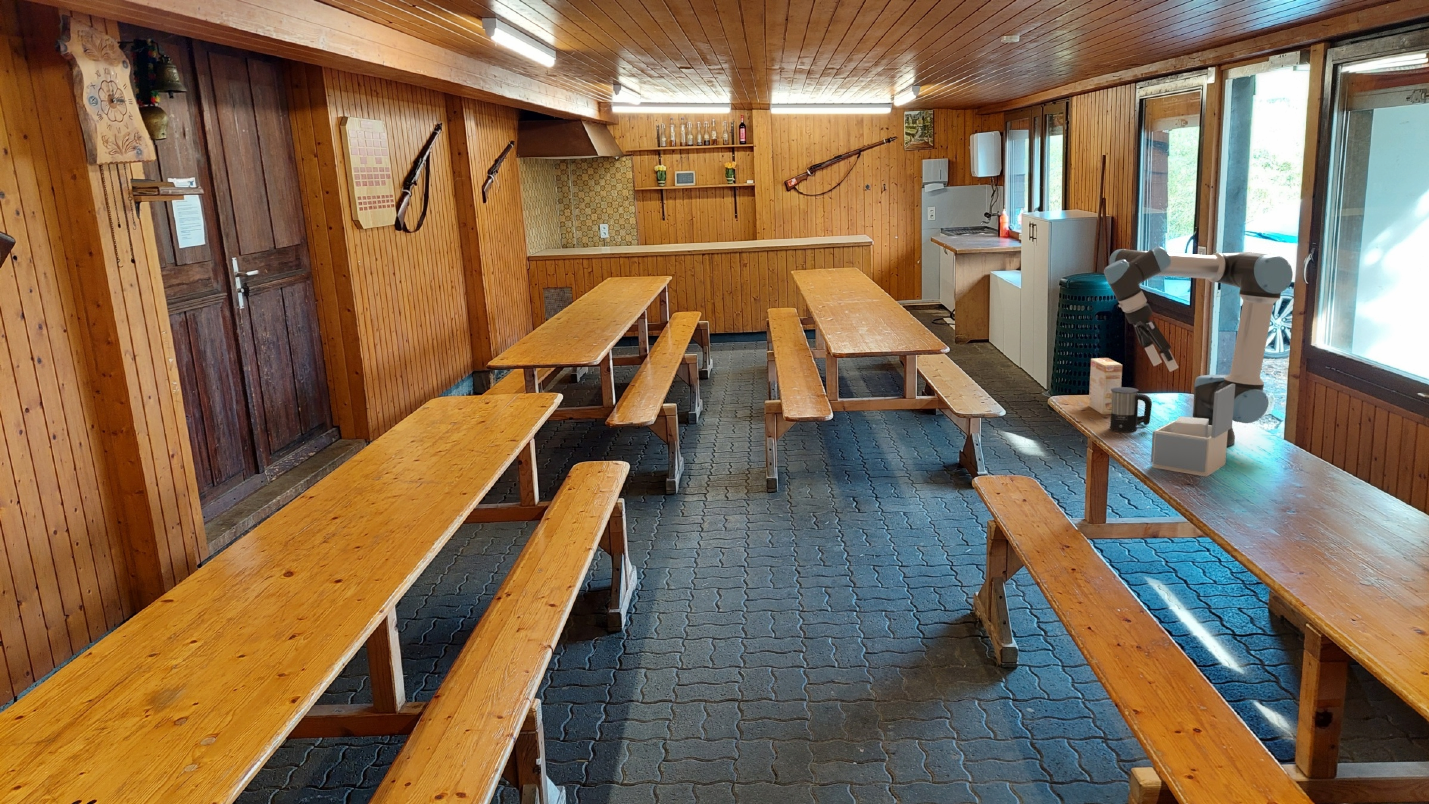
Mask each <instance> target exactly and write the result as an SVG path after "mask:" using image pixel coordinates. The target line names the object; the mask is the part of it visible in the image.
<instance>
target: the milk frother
mask: <svg viewBox="0 0 1429 804" xmlns="http://www.w3.org/2000/svg"><path fill="white" fill-rule="evenodd" d="M1111 391H1112V401H1111V414H1110V425H1109V430H1111V431H1113V432H1114V431H1115V432H1119V433H1120V432H1121V433H1129V432H1130V433H1131V432H1135V431H1137V429H1138V428H1137V426H1138V425H1140V424H1142V423H1143V425H1144V426H1148V425H1149V424H1150V422H1151V415H1152V414H1151V413H1152V406H1153V402H1152V399H1151V397H1150V396H1149V395H1146V394H1144V393H1138V392H1139V389H1138V388H1134V387H1129V386H1128V387H1127V386H1126V387H1124V386H1121V387H1118V388H1112V389H1111ZM1139 401H1142V402H1143V403H1144V410H1143V412H1144V413H1143V415H1138V414H1139Z"/></svg>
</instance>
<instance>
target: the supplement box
mask: <svg viewBox="0 0 1429 804" xmlns="http://www.w3.org/2000/svg"><path fill="white" fill-rule="evenodd" d="M1192 417H1193V416H1192ZM1192 417H1191V416H1190V417H1189V416H1178V418H1177V419H1176V420H1175V421H1176V422H1175V432H1174V433H1177V434H1184V435H1191V436H1198V437H1205V438H1207V436H1208V423H1209V419H1205V418H1192Z"/></svg>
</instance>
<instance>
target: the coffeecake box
mask: <svg viewBox="0 0 1429 804" xmlns="http://www.w3.org/2000/svg"><path fill="white" fill-rule="evenodd" d="M1089 372H1090V373H1089V393H1088V397H1089V398H1088V407H1089V408H1092V409H1093V410H1095V411H1096V412H1098V413H1100V414H1101V415H1111V401H1112V391H1111V389H1112V388H1118V387H1122V379H1123V377H1122V376H1123V364H1121V363H1120V362H1117V361H1115V360H1113V359H1111V358H1109V357H1099V358H1098V357H1097V358H1090V371H1089Z"/></svg>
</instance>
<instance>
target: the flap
mask: <svg viewBox="0 0 1429 804" xmlns="http://www.w3.org/2000/svg"><path fill="white" fill-rule="evenodd" d="M1234 395H1235V384H1230V385H1228V386H1226V387H1224V388H1222V389H1220V390H1218V391H1216V392H1215V395H1214V408H1213V422H1212V435H1211V438H1216V437H1217V436H1219V435H1221V434H1222V433H1224V432H1226V431H1227V430H1229V429H1231V428H1233V408H1234Z"/></svg>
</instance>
